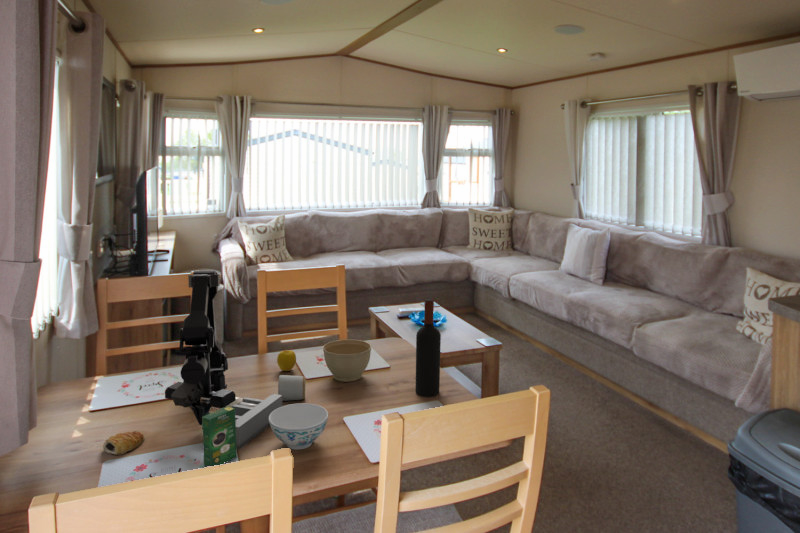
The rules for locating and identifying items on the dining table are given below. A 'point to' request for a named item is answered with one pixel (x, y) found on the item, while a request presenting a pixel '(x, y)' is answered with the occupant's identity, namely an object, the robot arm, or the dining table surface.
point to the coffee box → (219, 436)
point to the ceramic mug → (291, 387)
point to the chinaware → (298, 424)
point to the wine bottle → (428, 355)
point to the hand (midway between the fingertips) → (201, 424)
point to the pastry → (123, 442)
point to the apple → (286, 360)
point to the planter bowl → (347, 358)
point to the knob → (241, 403)
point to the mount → (254, 417)
